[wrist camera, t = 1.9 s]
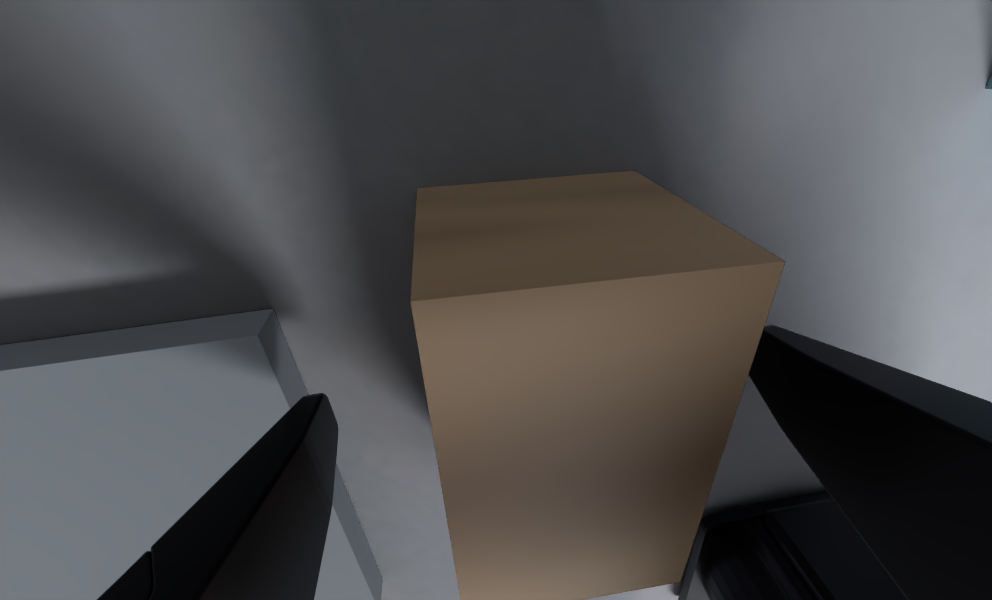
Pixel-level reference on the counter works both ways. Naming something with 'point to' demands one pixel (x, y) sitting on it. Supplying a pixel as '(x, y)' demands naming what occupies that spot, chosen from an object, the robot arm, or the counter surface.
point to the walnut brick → (580, 375)
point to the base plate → (141, 449)
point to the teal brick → (989, 83)
